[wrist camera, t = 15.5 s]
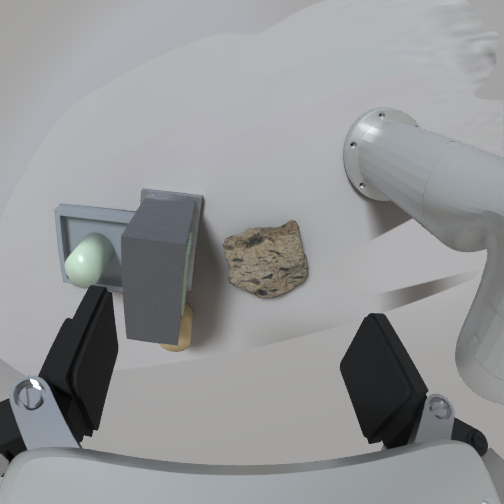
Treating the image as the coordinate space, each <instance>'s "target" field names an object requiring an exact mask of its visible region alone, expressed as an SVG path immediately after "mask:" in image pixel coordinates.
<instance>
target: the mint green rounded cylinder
mask: <svg viewBox="0 0 504 504" xmlns="http://www.w3.org/2000/svg"><path fill="white" fill-rule="evenodd" d="M112 256H113V246H112V244H111V242H110V241H109V239H108V238H107V237H106V236H104V235H103V234H100V233H90V234H88V235H87V236H86V237H85V238H84V239H83V240H82V241H81V242H80V244H79V245H78V246H77V247H76V248H75V250H74V251H73V252H72V253H71V254H70V256H69V257H68V258H67V260H66V262H65V271H66V274H67V276H68V277H69V279H70V280H71V281H72V282H73V283H74V284H76V285H78V286H80V287H84V288H89V287H90V285H95V284H96V283H97V281H98V279H99V277H100V276H101V274H102V272H103V271H104V269H105V268H106V266H107V264H108V263H109V261H110V259H111V258H112Z"/></svg>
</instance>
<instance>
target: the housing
mask: <svg viewBox="0 0 504 504" xmlns="http://www.w3.org/2000/svg"><path fill="white" fill-rule="evenodd" d="M201 204H202V195H194V194H186V193H178V192H169V191H160V190H151V189H142V190H141V203H140V207H139V208H138V210H137V211H136V213H135V214H134V216H133V218H132V219H131V221H130V222H129V224H128V225H127V227H126V229H125V230H124V232H123V234H122V235H121V265H122V286H123V302H124V314H125V325H126V335H127V339H133V340H139V341H146V342H153V343H160V344H168V345H176V346H178V343H179V334H180V326H181V319H182V315H184V308H185V300H186V293H187V291H191V288H192V279H193V269H194V260H195V251H196V243H197V234H198V226H199V219H200V211H201Z"/></svg>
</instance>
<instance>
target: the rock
mask: <svg viewBox="0 0 504 504" xmlns="http://www.w3.org/2000/svg"><path fill="white" fill-rule="evenodd" d="M223 247H224V251H225V252H224V254H225V258H226V260H227V262H228V265H229V276H228V281H229V283H231V284H233V285H234V286H236V287H241V288H243V290H246V291H248V292H250V293H251V294H252V293H254V294H255V295H256V296H258V297H260V298H266V297H269V298H273V297H275V296H278V295H281V294H285V293H286V292H288V291H290V290H292V289H293V288H294V287H295V286H297V285H299V284H300V283H302V282H304V280H305V278H306V276H307V275H308V270H307V269H308V266H307V258H306V255H305V254H304V252H303V248H302V243H301V238H300V234H299V227H298V224H297V222H295V221H293V220H291V221H289V222H287V223H286V224H284V225H283V226H281V227H277V228H272V227H265V228H260V227H259V228H254V229H246V231H245V232H243V233H242V234H241V235H239V236H231V237H228V238H226V239H225V241H224V244H223Z"/></svg>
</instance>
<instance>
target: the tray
mask: <svg viewBox="0 0 504 504" xmlns="http://www.w3.org/2000/svg"><path fill="white" fill-rule="evenodd" d="M135 213H136V212H135V211H126V210H117V209H108V208H98V207H89V206H79V205H69V204H60V205H59V206H58V207H57V208H55V222H56V233H57V242H58V250H59V257H60V264H61V271H62V277H63V282H64V283H70V284H74V283H73V282H72V281H71V280H70V279H69V277H68V276H67V274H66V271H65V262H66V260H67V258H68V257H69V256H70V254H71V253H72V252H73V251H74V250H75V248H76V247H77V246H78V245H79V244H80V242H81V241H82V240H83V239H84V238H85V237H86V236H87V235H88V234H90V233H100V234H103V235H104V236H106V237H107V238H108V239H109V241H110V242H111V244H112V246H113V256H112V258H111V259H110V261H109V263H108V264H107V266H106V268H105V269H104V271H103V272H102V274H101V276H100V277H99V279H98V281H97V283H96V284H95V285H96V286H103V287H106V288H107V290H112V291H119V292H123V286H122V265H121V235H122V234H123V232H124V230H125V229H126V227H127V225H128V224H129V222H130V221H131V219H132V218H133V216H134V214H135Z"/></svg>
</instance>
